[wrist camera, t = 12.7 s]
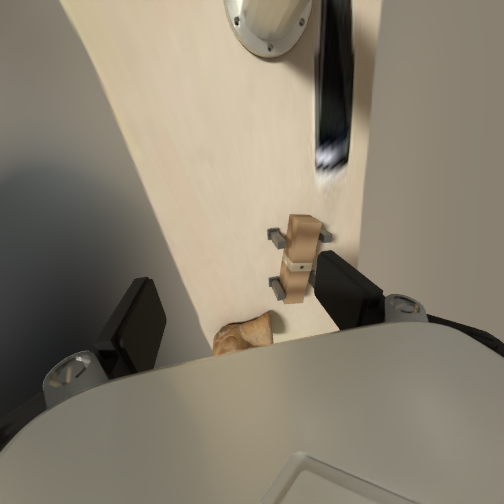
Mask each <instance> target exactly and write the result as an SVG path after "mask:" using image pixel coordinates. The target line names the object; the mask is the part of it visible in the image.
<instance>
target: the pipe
mask: <svg viewBox="0 0 504 504" xmlns="http://www.w3.org/2000/svg"><path fill="white" fill-rule="evenodd" d="M270 344H273V333H272V327H271V319H270V316H269V313H268V312H266V313H264V314H263V315H261V316H260V317H259V318H257V319H256V320H252V321H248V322H245V323H243V324H232V325H227V326H224V327H222V328H221V329H220V331H219V332H218V333H217V334H216V335H215V337H214V343H213V356H217V355H222V354H226V353H231V352H236V351H241V350H246V349H248V347H256V346H265V345H270Z"/></svg>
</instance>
